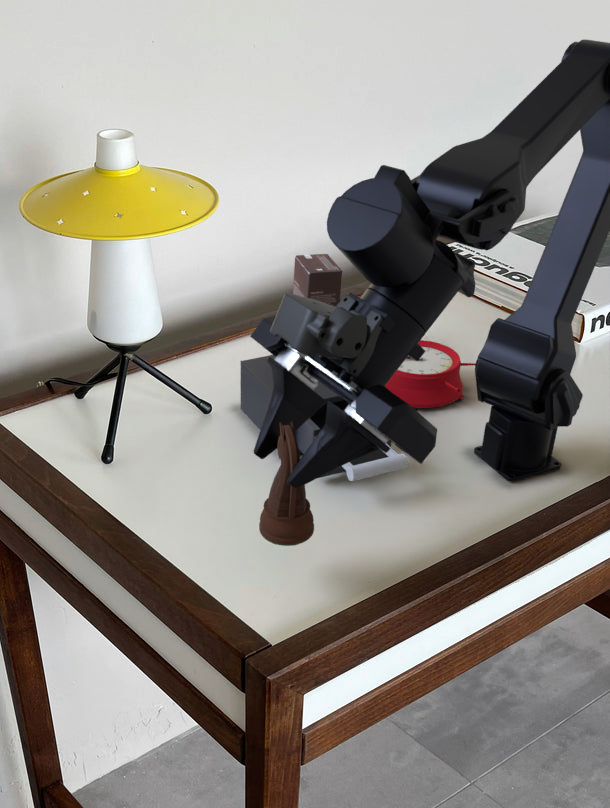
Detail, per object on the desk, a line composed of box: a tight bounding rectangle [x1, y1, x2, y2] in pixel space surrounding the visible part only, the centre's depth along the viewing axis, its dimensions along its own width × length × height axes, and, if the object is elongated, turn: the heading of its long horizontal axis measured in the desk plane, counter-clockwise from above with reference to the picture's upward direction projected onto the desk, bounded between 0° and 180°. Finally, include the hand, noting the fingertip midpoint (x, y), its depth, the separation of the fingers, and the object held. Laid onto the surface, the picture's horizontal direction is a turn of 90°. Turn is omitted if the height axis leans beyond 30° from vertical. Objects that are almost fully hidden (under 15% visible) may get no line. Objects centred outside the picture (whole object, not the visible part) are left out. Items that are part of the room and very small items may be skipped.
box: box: [292, 253, 343, 306], centre depth 120 cm, size 6×4×12 cm
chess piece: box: [258, 422, 315, 547], centre depth 82 cm, size 5×5×10 cm
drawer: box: [294, 400, 409, 482], centre depth 102 cm, size 15×8×4 cm, turn 23°
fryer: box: [240, 354, 357, 454], centre depth 109 cm, size 11×9×6 cm
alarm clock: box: [385, 339, 476, 409], centre depth 116 cm, size 10×6×15 cm
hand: (273, 470), depth 81 cm, fingers closed on chess piece, 5 cm apart
